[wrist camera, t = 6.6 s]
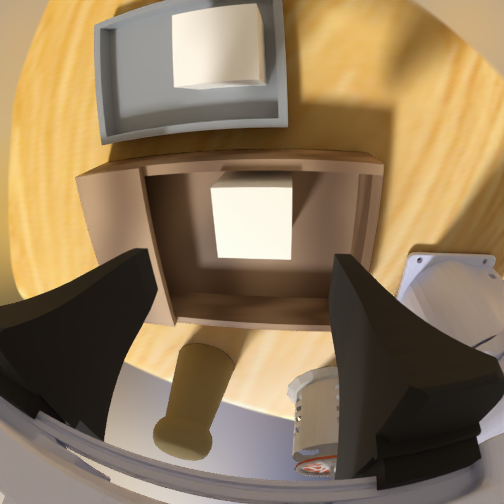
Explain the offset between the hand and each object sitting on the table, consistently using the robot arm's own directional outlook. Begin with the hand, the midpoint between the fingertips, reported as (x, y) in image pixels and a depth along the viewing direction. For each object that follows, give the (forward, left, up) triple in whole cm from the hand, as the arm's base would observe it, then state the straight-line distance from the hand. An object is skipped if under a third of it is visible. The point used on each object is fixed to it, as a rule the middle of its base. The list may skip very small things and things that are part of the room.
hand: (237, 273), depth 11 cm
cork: (+6, +18, -9) cm, 21 cm away
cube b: (0, 0, -8) cm, 8 cm away
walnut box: (+2, +3, -9) cm, 10 cm away
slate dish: (+4, -9, -9) cm, 13 cm away
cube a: (+1, -9, -8) cm, 12 cm away
